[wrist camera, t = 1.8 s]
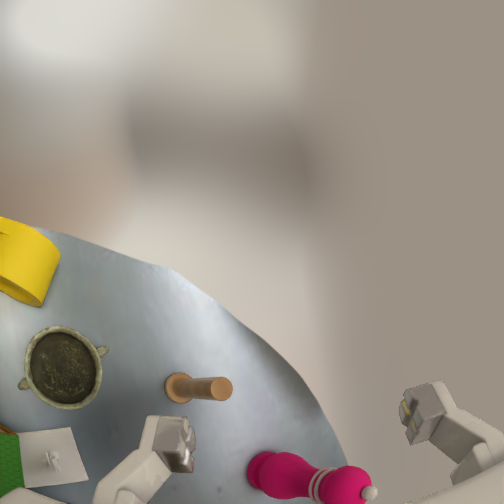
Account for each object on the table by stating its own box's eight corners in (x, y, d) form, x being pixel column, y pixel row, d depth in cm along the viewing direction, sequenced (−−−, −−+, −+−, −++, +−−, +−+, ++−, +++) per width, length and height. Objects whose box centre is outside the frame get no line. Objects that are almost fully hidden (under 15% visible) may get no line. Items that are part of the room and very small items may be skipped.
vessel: (39, 421, 26) (35, 429, 21) (7, 351, 27) (-4, 346, 22) (121, 383, 34) (131, 383, 29) (89, 317, 35) (94, 306, 30)
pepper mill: (288, 480, 39) (397, 499, 24) (250, 498, 35) (358, 535, 20) (278, 442, 42) (390, 451, 26) (238, 458, 37) (349, 485, 22)
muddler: (174, 408, 36) (216, 416, 27) (158, 381, 36) (195, 381, 27) (198, 393, 39) (246, 394, 29) (183, 367, 39) (227, 361, 30)
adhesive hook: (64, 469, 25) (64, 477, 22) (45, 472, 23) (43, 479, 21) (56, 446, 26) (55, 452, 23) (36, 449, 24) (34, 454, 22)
